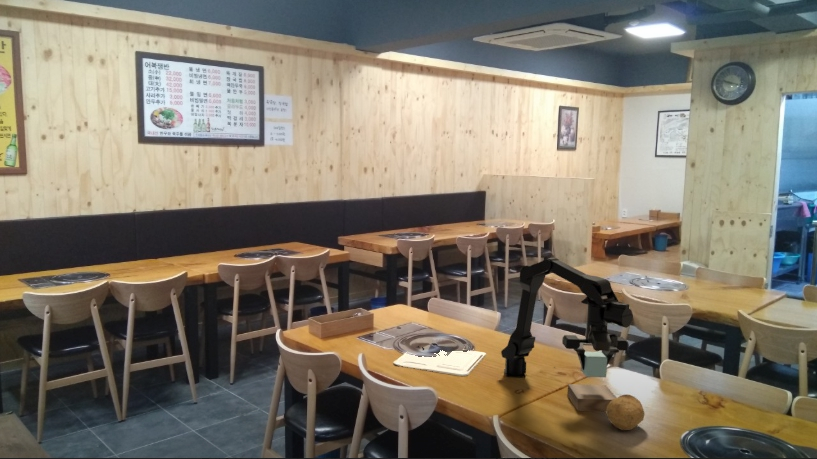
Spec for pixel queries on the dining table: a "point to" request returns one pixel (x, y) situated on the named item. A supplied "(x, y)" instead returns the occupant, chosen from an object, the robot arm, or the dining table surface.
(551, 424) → the dining table surface
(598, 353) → the teal cube
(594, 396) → the walnut block
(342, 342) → the dining table surface
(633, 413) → the potato
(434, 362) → the tray
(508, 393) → the dining table surface
